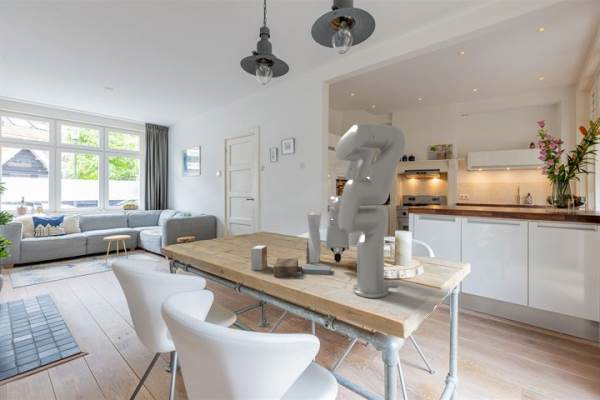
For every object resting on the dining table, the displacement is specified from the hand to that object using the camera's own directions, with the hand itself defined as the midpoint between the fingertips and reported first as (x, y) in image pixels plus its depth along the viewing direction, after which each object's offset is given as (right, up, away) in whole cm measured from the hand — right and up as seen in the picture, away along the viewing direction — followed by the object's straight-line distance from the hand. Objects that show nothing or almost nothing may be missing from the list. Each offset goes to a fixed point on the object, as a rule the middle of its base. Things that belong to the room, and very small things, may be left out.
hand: (337, 261), depth 125 cm
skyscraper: (-10, -5, +19) cm, 22 cm away
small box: (-37, -5, +8) cm, 38 cm away
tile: (-10, -5, 0) cm, 11 cm away
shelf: (-24, -5, 0) cm, 24 cm away
